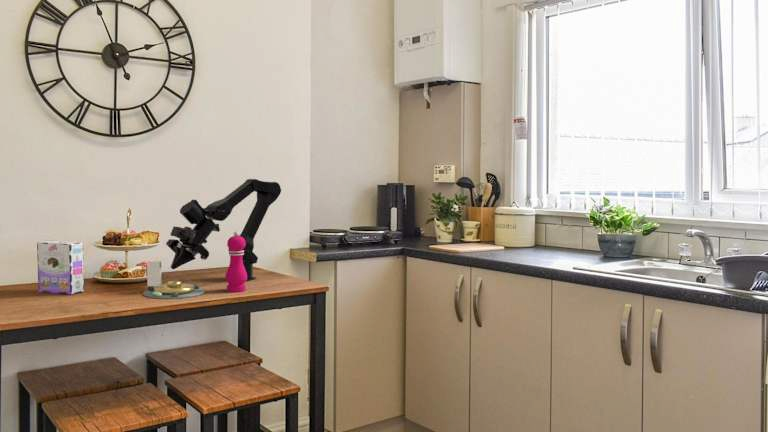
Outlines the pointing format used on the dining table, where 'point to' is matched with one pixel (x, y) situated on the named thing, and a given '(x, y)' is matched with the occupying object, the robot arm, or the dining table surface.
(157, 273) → the footscrew wheel
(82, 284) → the candy box
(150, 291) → the tribrach plate
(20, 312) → the dining table surface
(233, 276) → the pepper mill
